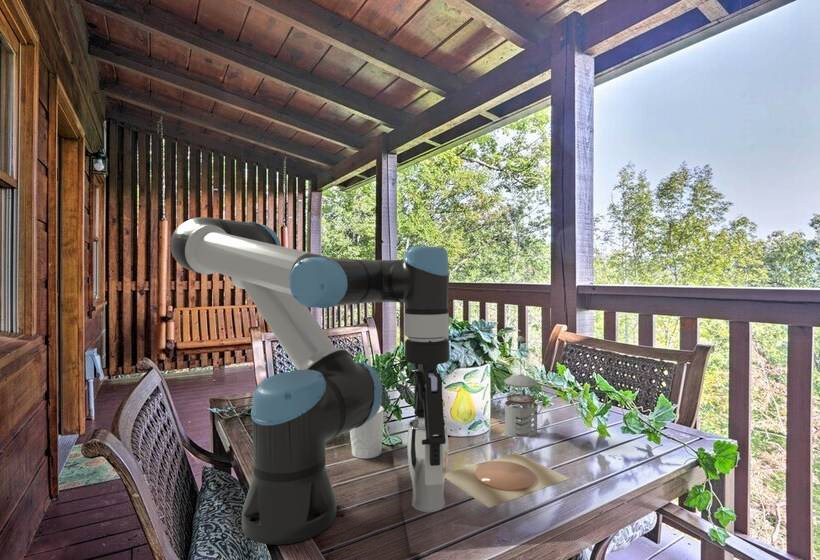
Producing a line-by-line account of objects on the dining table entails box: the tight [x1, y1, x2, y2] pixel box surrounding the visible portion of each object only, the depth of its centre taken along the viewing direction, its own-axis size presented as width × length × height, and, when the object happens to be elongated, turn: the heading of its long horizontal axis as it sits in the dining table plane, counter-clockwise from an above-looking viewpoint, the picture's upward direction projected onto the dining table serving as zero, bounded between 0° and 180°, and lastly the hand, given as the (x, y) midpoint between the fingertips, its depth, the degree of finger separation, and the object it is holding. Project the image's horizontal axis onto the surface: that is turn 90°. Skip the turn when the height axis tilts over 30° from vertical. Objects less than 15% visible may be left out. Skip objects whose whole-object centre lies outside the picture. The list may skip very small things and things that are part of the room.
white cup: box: [349, 405, 384, 460], centre depth 98 cm, size 8×8×10 cm
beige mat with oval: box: [445, 452, 571, 509], centre depth 83 cm, size 20×14×2 cm
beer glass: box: [406, 418, 449, 513], centre depth 74 cm, size 7×7×15 cm
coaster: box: [476, 461, 534, 491], centre depth 83 cm, size 11×11×1 cm
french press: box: [500, 335, 545, 438], centre depth 108 cm, size 10×12×25 cm
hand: (427, 467), depth 74 cm, fingers open, 11 cm apart
